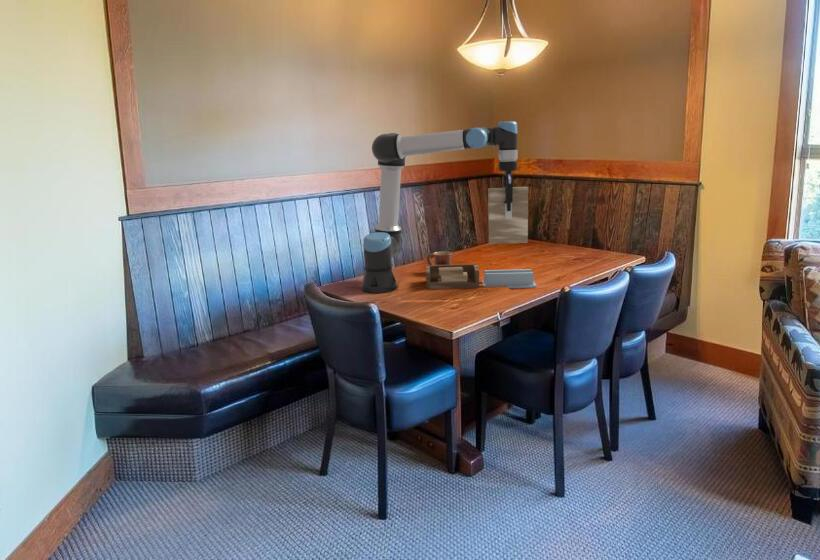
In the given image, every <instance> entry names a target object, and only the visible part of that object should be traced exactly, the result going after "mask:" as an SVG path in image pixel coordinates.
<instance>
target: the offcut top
mask: <svg viewBox="0 0 820 560" xmlns="http://www.w3.org/2000/svg"><path fill="white" fill-rule="evenodd" d="M451 275H463V268H462V267H445V268H439V276H451Z"/></svg>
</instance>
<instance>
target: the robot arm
mask: <svg viewBox="0 0 820 560" xmlns="http://www.w3.org/2000/svg"><path fill="white" fill-rule="evenodd" d="M483 147H484V148H485V147H498V152H497V153H496V154H497V156H498V160H499V162H498V171H500V172H504V173H503V174H502V180H503V181H502V184H503V185H502V186H503V188H505V193H506V201H505V202H504V203H505V219H512V202H513V200H512V198H513V187H514V186H513V185H514V175H513V174H512V173H513V172H512V171H518V156H519V155H518V154H519V153H518V123H517V121H514V120H512V121H499V122H498V125H497V126H493V127H491V126H490V127H489V126H487V127H483V126H482V127H472V128H467V129H457V130H449V131H440V132H432V133H424V134H415V135H405V136H403V135H401V134H399V133H395V132H389V133H381V134H380V135H378V136H376V137H375V139H374V140H373V141H372V145H371V153H372V154H373V156H374V159H376V160H377V165H378V167H379V168H380V188H379V191H380V192H379V209H378V211H379V212H378V224H377V225H376V226H375V227H374V232H372V233H368V234H367V235H365V236H364V238H363V240H362V241H363V243H362V247H363V261H364V274H363V278H362V281H361V290H362V292H364V293H365V292H366V293H370V294H371V293H372V294H375V293H376V294H382V293H388V292H389V293H390V292H393V291H395V290H397V288H398V283H397V280H396V277H395V273H394V272H393V262H392V259H393V258H394V257H396V256H397V255H398V254H400V252H401V251H402V249H403V247H404V237H403V236H402V227H401V226H400V225H399V220H400V219H399V218H400V214H399V213H400V200H401V199H400V196H401V181H402V180H401V177H402V170H403V169H404V168H405V165H406V157H407V156H416V155H424V154H434V153H435V154H436V153H443V152H450V151H451V152H452V151H459V150H471V149H481V148H483Z"/></svg>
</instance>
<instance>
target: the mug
mask: <svg viewBox="0 0 820 560" xmlns="http://www.w3.org/2000/svg"><path fill="white" fill-rule="evenodd" d="M452 255H453V253H452V252H451V251H444V250H443V251H434V252H433V253H429V254H428V255H427V256H426V259H427V263H428V264H427V265H452V261H451V260H452ZM430 257H433V259H434V264H432V263H431V260H430V259H431V258H430Z"/></svg>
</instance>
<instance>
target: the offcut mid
mask: <svg viewBox="0 0 820 560" xmlns="http://www.w3.org/2000/svg"><path fill="white" fill-rule="evenodd" d="M442 281H468V275H467V272H463V275H451V276H441V282H442Z"/></svg>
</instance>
